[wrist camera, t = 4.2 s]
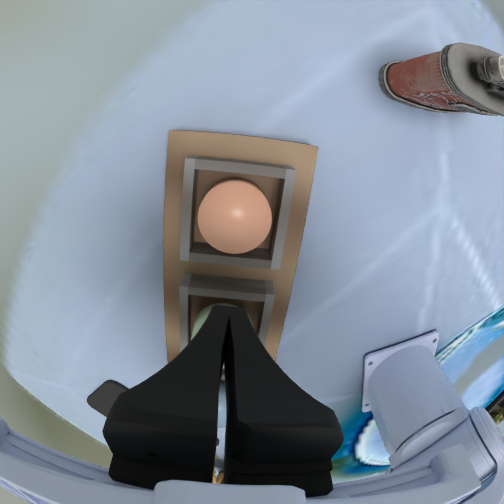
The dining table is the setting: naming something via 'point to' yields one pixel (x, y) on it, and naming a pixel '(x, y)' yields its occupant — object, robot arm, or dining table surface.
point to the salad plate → (497, 409)
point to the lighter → (448, 80)
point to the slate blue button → (222, 406)
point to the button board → (225, 264)
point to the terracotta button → (234, 215)
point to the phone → (108, 397)
